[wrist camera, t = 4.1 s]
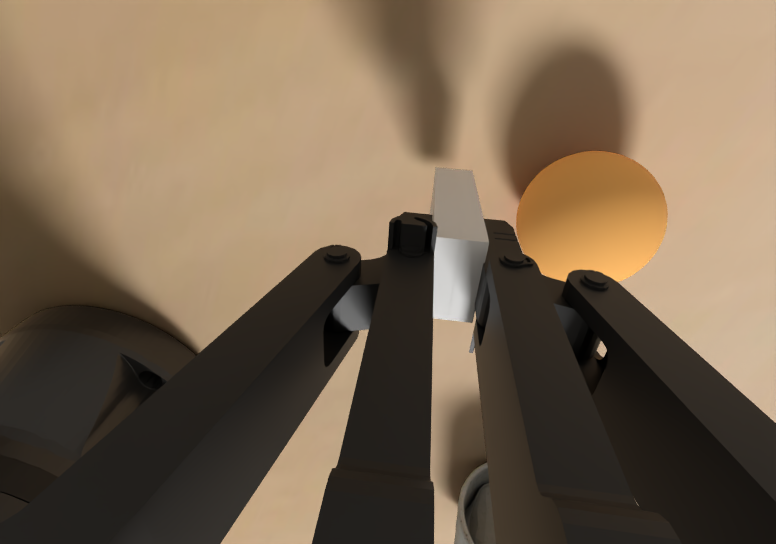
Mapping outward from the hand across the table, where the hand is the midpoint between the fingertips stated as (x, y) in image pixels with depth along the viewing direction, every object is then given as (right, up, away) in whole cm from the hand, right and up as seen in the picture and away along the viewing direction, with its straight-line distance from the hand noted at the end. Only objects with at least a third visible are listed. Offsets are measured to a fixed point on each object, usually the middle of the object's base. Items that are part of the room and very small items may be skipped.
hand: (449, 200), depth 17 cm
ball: (+6, -1, 0) cm, 6 cm away
